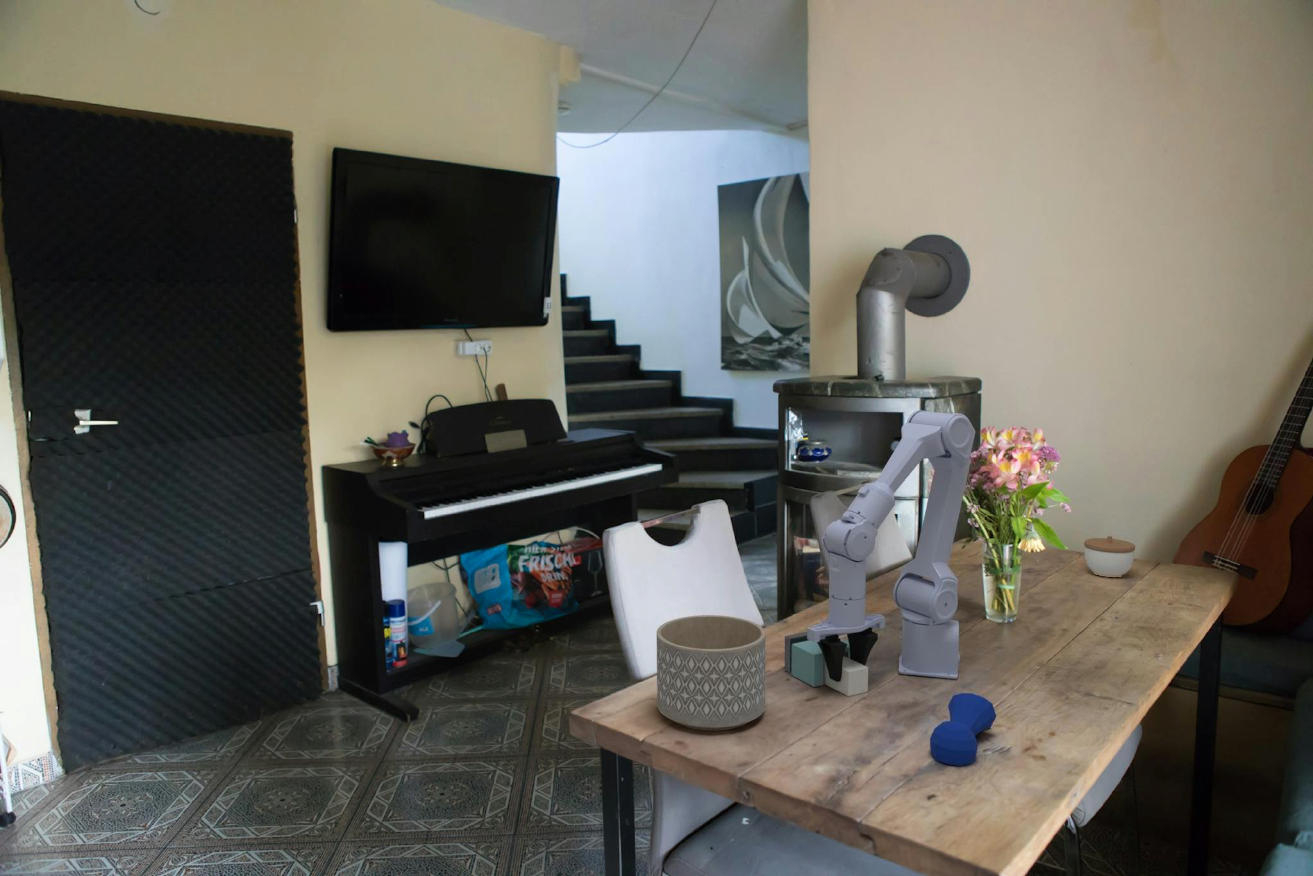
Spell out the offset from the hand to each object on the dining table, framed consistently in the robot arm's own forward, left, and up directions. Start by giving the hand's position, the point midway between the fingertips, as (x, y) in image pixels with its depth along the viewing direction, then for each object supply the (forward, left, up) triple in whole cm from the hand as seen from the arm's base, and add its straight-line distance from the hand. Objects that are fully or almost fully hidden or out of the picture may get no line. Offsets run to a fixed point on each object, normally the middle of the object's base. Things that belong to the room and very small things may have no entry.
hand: (846, 677), depth 144 cm
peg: (+2, -1, -2) cm, 3 cm away
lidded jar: (-54, -86, -2) cm, 102 cm away
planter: (+19, +15, -2) cm, 24 cm away
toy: (-17, +16, -2) cm, 24 cm away
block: (+4, -4, -2) cm, 6 cm away
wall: (+7, -7, -2) cm, 11 cm away
